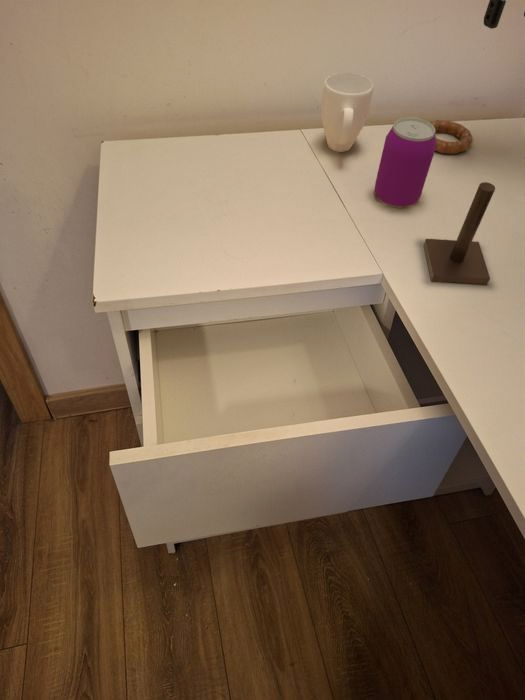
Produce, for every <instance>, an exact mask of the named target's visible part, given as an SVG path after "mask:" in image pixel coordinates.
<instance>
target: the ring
mask: <svg viewBox="0 0 525 700" xmlns="http://www.w3.org/2000/svg"><path fill="white" fill-rule="evenodd" d="M428 122H429V123H431V124H432V125H433V126H434V128H435V133H438V132H439V133H448V134H451V135H453V136H456V137H457V138H459V140H457V141H448V140H443V139H440V138H437V137H436V149H435V152H438V153H441V154H458V153H461V152H465V151H468V149H469V148H470V146H471V145H472V144H473V141H474V138H473V135H472V132H471V131H470V129H468V128H467V127H466V126H464V125H462V124H461V123H458V122H454V121H451V120H445V119H444V120H442V119H437V120H433V121H428Z"/></svg>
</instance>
